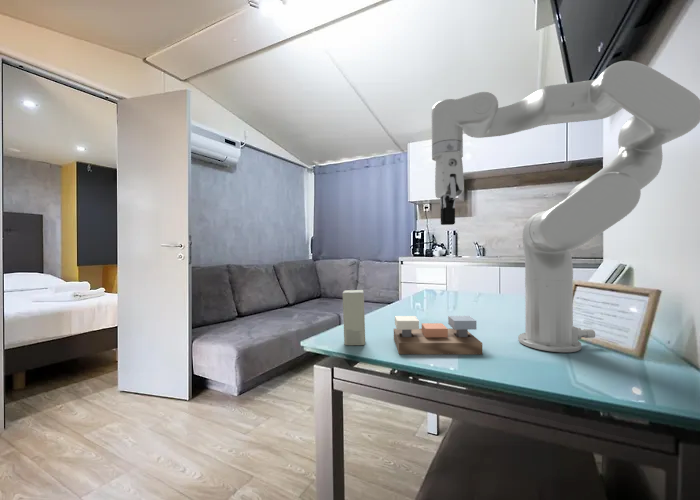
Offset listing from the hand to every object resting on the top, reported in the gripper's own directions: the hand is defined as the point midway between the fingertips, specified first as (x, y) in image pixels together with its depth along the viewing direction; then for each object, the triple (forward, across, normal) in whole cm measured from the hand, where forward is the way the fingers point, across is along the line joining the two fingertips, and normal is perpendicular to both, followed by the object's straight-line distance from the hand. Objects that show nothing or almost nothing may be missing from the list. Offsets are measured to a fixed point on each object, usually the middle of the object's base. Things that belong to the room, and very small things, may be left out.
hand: (447, 224), depth 80 cm
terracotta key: (+29, -6, +5) cm, 30 cm away
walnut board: (+29, -6, +5) cm, 30 cm away
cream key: (+27, -6, +11) cm, 30 cm away
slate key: (+27, -6, -2) cm, 28 cm away
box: (+29, -4, +24) cm, 38 cm away
